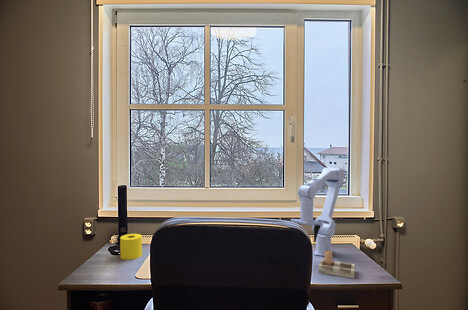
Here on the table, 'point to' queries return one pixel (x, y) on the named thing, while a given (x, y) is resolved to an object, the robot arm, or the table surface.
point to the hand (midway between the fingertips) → (306, 240)
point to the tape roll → (130, 246)
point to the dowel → (328, 258)
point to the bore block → (337, 269)
